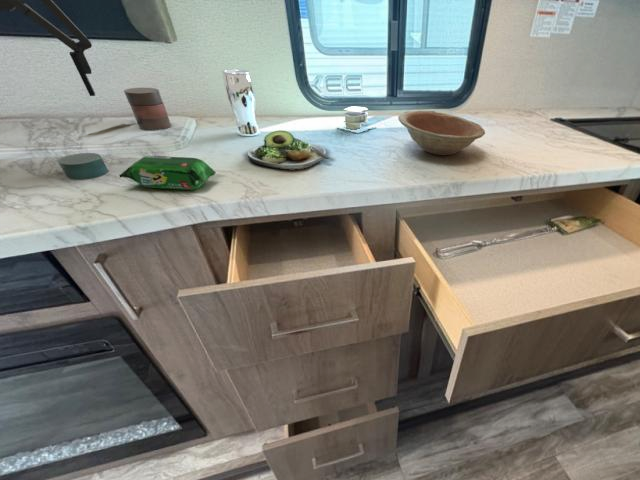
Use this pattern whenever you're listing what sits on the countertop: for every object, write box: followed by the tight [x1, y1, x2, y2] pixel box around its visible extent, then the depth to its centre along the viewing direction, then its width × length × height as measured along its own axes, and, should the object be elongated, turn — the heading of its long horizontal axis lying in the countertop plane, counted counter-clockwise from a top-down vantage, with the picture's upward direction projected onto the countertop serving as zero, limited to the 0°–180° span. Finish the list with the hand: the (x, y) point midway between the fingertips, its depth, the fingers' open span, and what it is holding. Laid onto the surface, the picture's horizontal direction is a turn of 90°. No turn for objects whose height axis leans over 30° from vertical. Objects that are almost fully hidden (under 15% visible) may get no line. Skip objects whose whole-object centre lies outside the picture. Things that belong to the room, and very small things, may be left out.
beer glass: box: [221, 69, 261, 137], centre depth 92 cm, size 7×7×15 cm
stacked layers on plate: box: [335, 105, 369, 130], centre depth 105 cm, size 10×9×6 cm
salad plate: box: [246, 130, 331, 171], centre depth 82 cm, size 19×18×5 cm
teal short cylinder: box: [57, 152, 109, 180], centre depth 69 cm, size 7×7×3 cm
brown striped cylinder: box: [123, 87, 172, 131], centre depth 94 cm, size 8×8×9 cm
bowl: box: [397, 110, 486, 156], centre depth 92 cm, size 24×24×8 cm
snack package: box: [118, 155, 216, 191], centre depth 66 cm, size 7×16×5 cm, turn 92°
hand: (46, 97), depth 61 cm, fingers open, 13 cm apart
